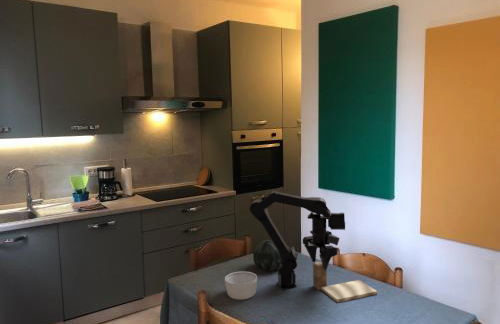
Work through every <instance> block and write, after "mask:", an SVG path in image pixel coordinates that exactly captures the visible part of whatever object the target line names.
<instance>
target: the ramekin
mask: <svg viewBox="0 0 500 324" xmlns="http://www.w3.org/2000/svg"><path fill="white" fill-rule="evenodd" d="M224 284H225V288H226V293H227V296H229V298H231V299H233V300H241V301H243V300H247V299H250V298H253V297H254V296H255V295H256V292H257V288H258V287H257V284H258V275H257V274H256V273H254V272H251V271H235V272H232V273H228V275H227V274H226V276H224Z"/></svg>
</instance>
